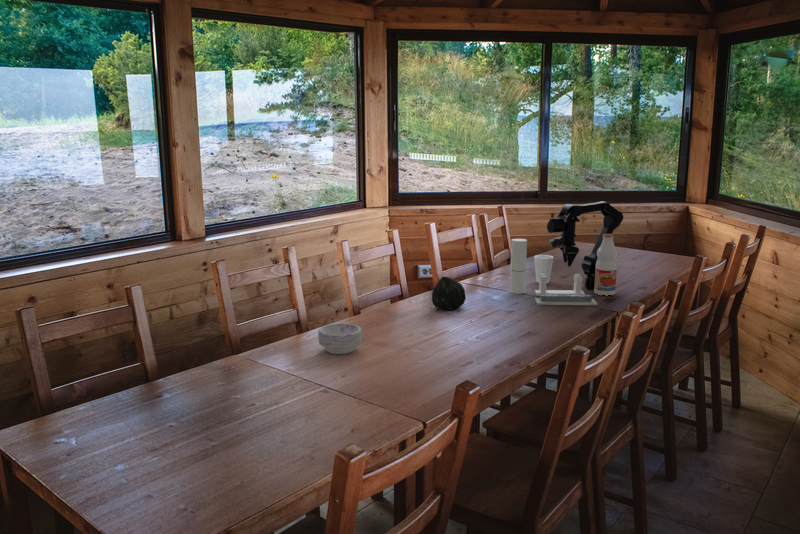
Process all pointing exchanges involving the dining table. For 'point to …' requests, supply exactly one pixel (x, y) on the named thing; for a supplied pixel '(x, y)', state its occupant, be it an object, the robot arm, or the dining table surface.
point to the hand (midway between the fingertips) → (567, 264)
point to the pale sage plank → (565, 303)
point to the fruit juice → (606, 267)
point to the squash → (448, 294)
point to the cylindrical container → (518, 266)
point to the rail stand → (576, 290)
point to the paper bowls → (340, 337)
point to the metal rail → (565, 298)
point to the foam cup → (543, 266)
